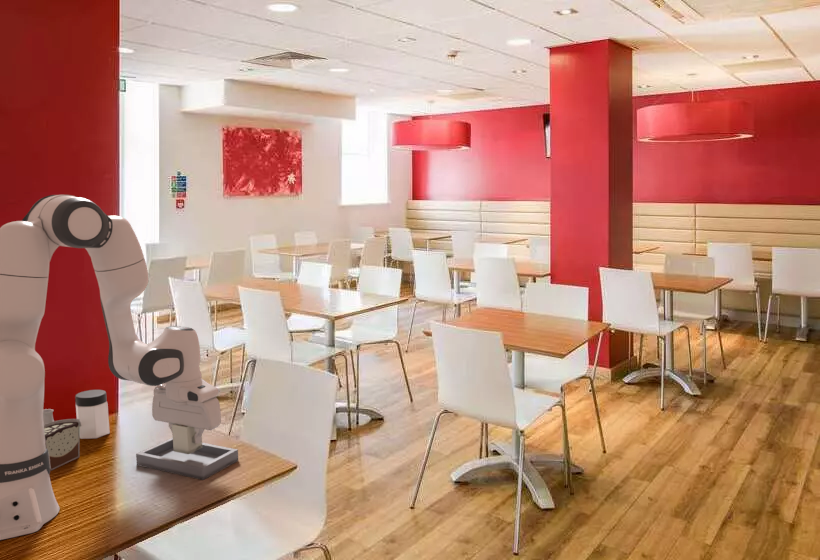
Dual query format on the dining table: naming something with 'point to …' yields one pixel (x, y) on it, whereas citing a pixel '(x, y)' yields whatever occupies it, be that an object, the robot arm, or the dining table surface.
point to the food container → (62, 441)
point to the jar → (92, 413)
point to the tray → (187, 459)
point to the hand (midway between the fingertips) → (187, 440)
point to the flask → (48, 416)
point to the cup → (184, 439)
